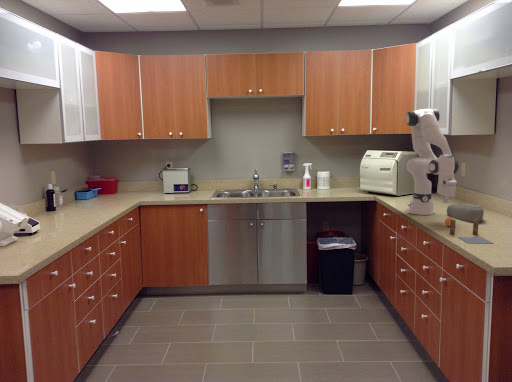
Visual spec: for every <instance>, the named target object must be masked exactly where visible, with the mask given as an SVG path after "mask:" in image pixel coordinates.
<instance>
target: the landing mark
mask: <svg viewBox="0 0 512 382" xmlns="http://www.w3.org/2000/svg"><path fill="white" fill-rule="evenodd" d="M457 238H458V239H459V238H460V240H461V241H463V242H464V243H467V244H477V245H479V244H482V245H484V244H487V245H488V244H489V245H490V244H491V245H492V244H494V242H492V241H490V240H488V239H487V238H484V237H482V236H457Z"/></svg>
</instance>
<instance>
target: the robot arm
mask: <svg viewBox="0 0 512 382" xmlns="http://www.w3.org/2000/svg"><path fill="white" fill-rule="evenodd" d="M440 119H441V118H440V111H439V110H438V109H437V108H422V109H416V110H409V111H407V113H406V114H405V123H406V125H407V126H408V127H411V141H412V142H411V143H412V148H413V151H414V152H415V153H417V155H418V156H419V157H413V158H410V159H408V161H407V163H406V169H407V171H408V173H410V174H411V176H412V179H413V182H414V185H413V186H414V187H413V188H414V190H413V194H412V199H411V200H410V201H409V202H408V203H407V206H408V208H405V211H406V212H407V214H413V215H419V216H420V215H421V216H430V215H434V214H436V211H434V201H433V200H432V198H433V195H432V187H433V186H432V181H431V180H429V179H428V177H427V174H432V175H438V180H437V181H438V183H437V187H436V188H437V189H436V193H437V194H438V195H440V196H441V198H442V202H443V204H448V203H449V199H450V198H455V197H456V191H457V187H456V186H457V184H458V182H457V180H456V179H455V174H457V172H458V171H459V168H460V165H459V162H458V160H457V159H456V156H455V155H454V151H453V148H452V147H451V144H450V142H449V140H448V138H447V136H445V135H444V134H443V132H442V131H441V130H440V124H439V121H440ZM431 145H434V146H436V147H438V148H440V150H441V152H442V154H440V155H439V157H437V156H436V155H435V153H434V152H433V149H432V147H431Z"/></svg>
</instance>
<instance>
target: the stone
mask: <svg viewBox="0 0 512 382" xmlns="http://www.w3.org/2000/svg"><path fill="white" fill-rule="evenodd" d="M484 213H485V212H484V208H483V207H482V206H481V205H478V204H475V203H469V202H468V203H462V204H461V203H460V204H449V205H448V206H447V208H446V215H447V216H449V217H451V218H453V219H455V220H460V221H464V222H467V223H468V222H470V223H473V221H474V220H479V223H480V222H481V221H483V217H484Z"/></svg>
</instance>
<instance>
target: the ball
mask: <svg viewBox="0 0 512 382" xmlns="http://www.w3.org/2000/svg"><path fill="white" fill-rule="evenodd" d="M451 220H455V218H453V217H451V216H449V217H446V219H445V220H444V224H445V226H448V227H449V228H450V221H451Z"/></svg>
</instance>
